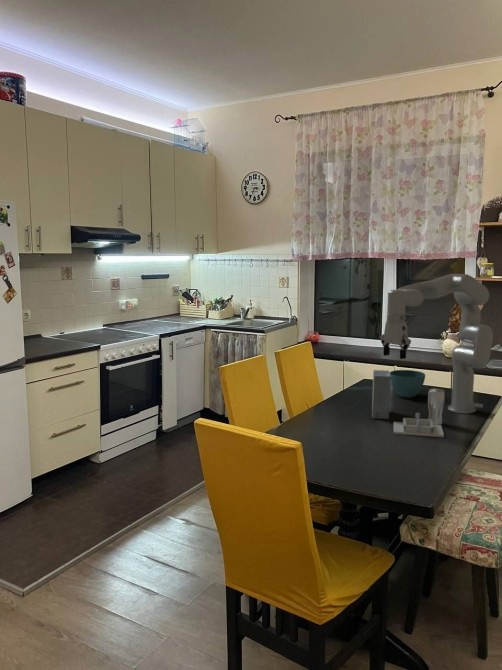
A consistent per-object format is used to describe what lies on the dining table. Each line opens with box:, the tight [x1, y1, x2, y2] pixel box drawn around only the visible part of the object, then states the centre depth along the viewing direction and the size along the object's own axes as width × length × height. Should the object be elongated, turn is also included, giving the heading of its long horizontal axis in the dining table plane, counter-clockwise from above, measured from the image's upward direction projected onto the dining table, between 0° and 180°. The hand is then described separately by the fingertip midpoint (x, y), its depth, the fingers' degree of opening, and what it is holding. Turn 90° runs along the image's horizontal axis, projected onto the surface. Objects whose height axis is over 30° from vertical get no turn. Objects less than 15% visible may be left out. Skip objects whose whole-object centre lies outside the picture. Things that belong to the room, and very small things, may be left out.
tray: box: [393, 412, 445, 438], centre depth 237 cm, size 20×14×6 cm
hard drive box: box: [371, 369, 391, 420], centre depth 260 cm, size 16×8×20 cm, turn 168°
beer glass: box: [427, 388, 445, 426], centre depth 247 cm, size 7×7×15 cm
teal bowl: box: [389, 369, 426, 399], centre depth 296 cm, size 18×18×12 cm
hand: (394, 356), depth 245 cm, fingers open, 9 cm apart
